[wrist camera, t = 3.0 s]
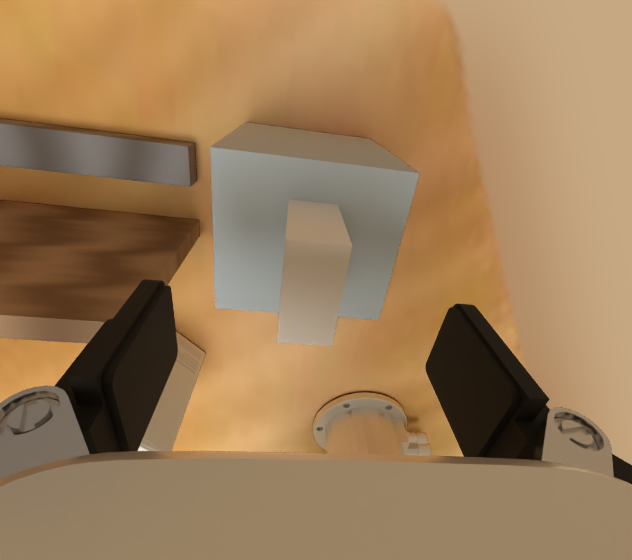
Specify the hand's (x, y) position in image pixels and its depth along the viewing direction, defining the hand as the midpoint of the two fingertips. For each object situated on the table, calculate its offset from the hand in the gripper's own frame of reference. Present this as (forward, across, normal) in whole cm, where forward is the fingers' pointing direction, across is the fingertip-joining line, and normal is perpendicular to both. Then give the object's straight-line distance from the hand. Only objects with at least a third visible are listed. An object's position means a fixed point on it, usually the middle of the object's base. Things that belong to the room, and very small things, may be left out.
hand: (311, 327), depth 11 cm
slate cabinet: (+20, 0, +1) cm, 20 cm away
